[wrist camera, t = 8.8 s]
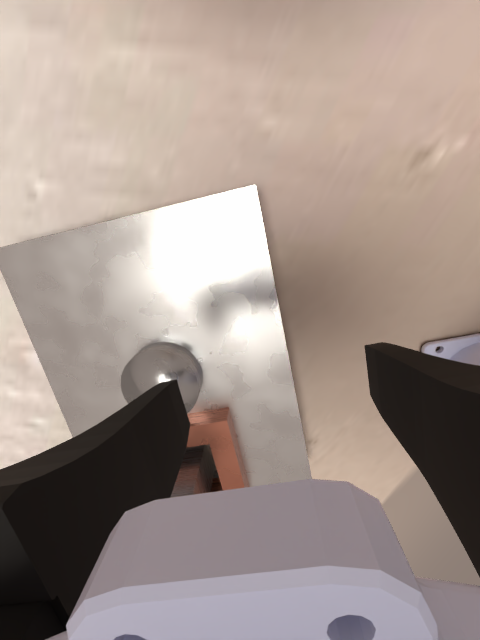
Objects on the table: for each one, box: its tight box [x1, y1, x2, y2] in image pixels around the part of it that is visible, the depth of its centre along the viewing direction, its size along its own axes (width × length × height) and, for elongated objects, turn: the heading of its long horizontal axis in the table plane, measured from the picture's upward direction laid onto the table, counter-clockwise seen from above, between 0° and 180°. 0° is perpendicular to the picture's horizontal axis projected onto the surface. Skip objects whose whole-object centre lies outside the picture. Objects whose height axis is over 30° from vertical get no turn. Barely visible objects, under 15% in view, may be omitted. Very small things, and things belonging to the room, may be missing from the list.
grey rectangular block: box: [170, 444, 215, 498], centre depth 20 cm, size 3×3×9 cm
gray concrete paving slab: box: [0, 185, 312, 492], centre depth 21 cm, size 16×25×4 cm, turn 12°
